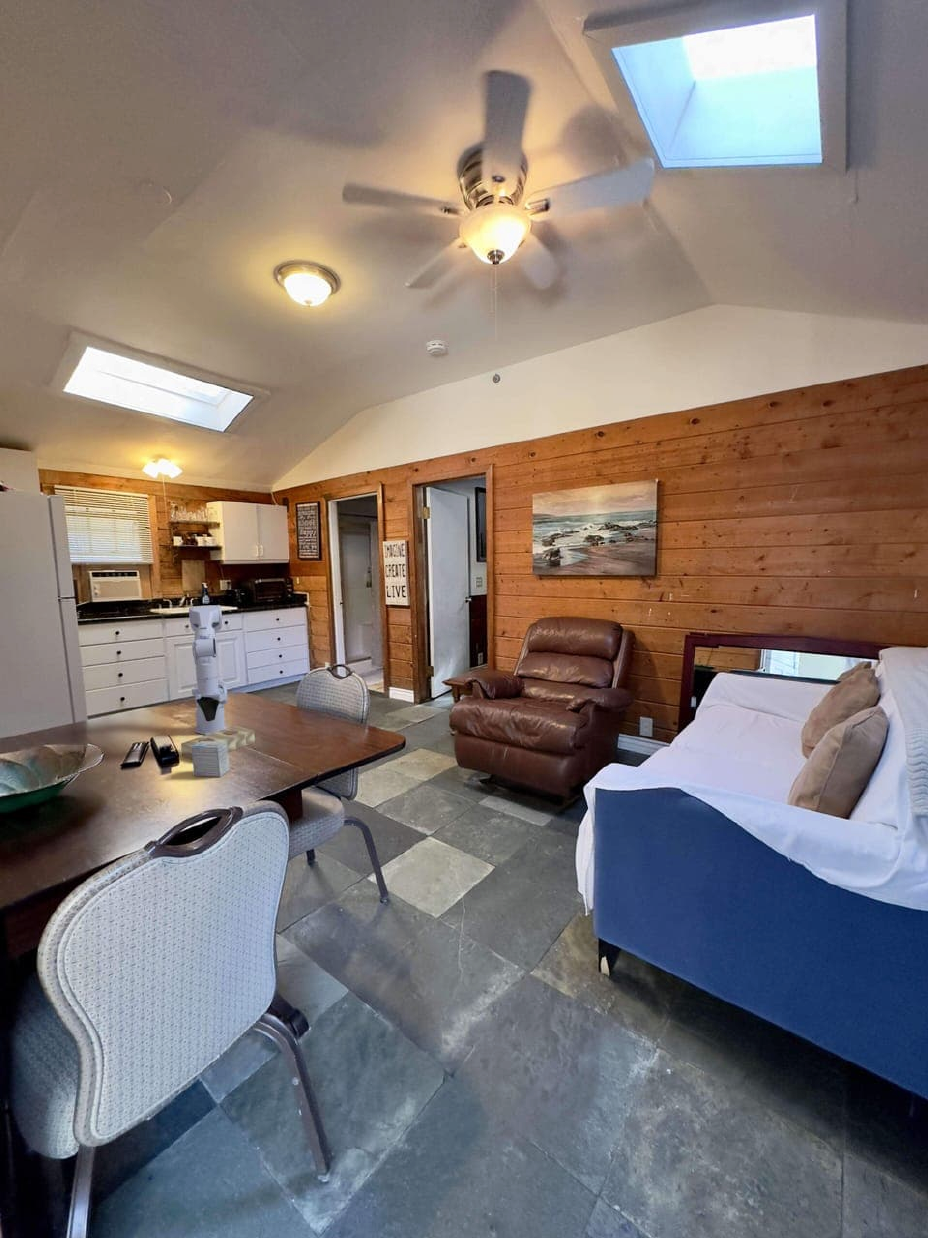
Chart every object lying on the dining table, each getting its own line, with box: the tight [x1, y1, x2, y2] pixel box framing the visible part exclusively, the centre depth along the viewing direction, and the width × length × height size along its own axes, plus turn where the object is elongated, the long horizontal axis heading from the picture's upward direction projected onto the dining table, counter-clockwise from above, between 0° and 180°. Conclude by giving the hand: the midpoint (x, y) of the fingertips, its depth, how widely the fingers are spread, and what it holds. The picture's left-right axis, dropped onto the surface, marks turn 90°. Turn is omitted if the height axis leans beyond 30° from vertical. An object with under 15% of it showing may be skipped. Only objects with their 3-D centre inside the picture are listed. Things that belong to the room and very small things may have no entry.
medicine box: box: [192, 741, 230, 778], centre depth 132 cm, size 8×4×9 cm, turn 84°
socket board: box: [180, 725, 256, 761], centre depth 150 cm, size 18×10×4 cm, turn 150°
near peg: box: [199, 738, 214, 742], centre depth 147 cm, size 3×3×4 cm
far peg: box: [223, 730, 238, 735], centre depth 154 cm, size 3×3×4 cm
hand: (210, 720), depth 148 cm, fingers closed
